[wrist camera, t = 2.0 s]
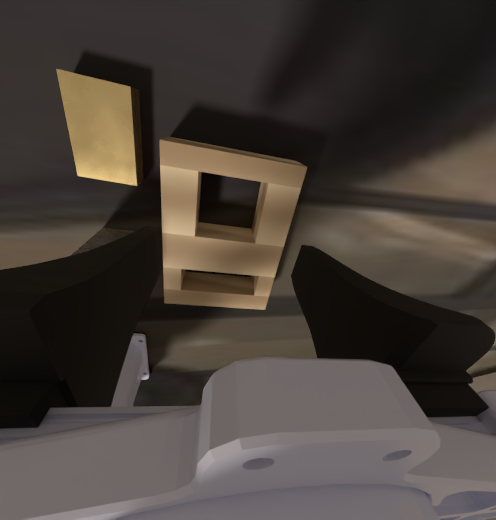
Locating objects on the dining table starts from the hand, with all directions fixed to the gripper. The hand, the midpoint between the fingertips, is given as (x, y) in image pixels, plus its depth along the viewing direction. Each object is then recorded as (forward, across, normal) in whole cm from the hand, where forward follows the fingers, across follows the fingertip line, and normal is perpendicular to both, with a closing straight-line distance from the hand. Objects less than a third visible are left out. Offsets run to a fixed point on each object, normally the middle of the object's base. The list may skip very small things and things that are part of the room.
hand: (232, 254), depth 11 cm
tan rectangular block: (+10, +9, -4) cm, 14 cm away
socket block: (+9, 0, +3) cm, 10 cm away
